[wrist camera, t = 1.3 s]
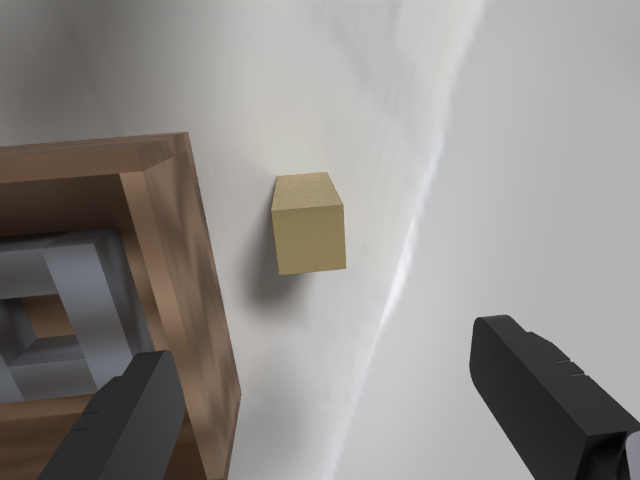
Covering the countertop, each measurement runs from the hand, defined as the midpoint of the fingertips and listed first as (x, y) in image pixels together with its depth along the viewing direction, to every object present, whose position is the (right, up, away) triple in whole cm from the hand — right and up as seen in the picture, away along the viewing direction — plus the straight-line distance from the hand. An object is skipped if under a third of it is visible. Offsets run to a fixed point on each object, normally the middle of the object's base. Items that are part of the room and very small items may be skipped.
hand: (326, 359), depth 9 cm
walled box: (-19, -1, +17) cm, 25 cm away
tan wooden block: (-1, +6, +15) cm, 16 cm away
